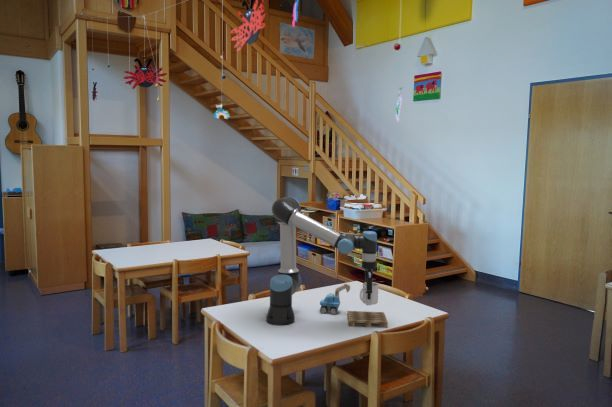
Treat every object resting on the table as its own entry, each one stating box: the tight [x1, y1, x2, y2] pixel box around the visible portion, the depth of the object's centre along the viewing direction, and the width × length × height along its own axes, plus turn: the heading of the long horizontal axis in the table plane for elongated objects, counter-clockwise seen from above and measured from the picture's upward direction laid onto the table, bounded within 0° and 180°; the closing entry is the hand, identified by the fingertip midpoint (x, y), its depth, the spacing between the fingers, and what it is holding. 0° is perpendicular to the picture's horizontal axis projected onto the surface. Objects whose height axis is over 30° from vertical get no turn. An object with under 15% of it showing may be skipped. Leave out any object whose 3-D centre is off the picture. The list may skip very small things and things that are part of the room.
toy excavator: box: [319, 282, 351, 315], centre depth 277 cm, size 9×17×17 cm, turn 78°
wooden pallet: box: [346, 310, 389, 329], centre depth 263 cm, size 20×16×3 cm
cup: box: [359, 281, 379, 306], centre depth 261 cm, size 8×12×10 cm
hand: (367, 302), depth 262 cm, fingers closed on cup, 9 cm apart
